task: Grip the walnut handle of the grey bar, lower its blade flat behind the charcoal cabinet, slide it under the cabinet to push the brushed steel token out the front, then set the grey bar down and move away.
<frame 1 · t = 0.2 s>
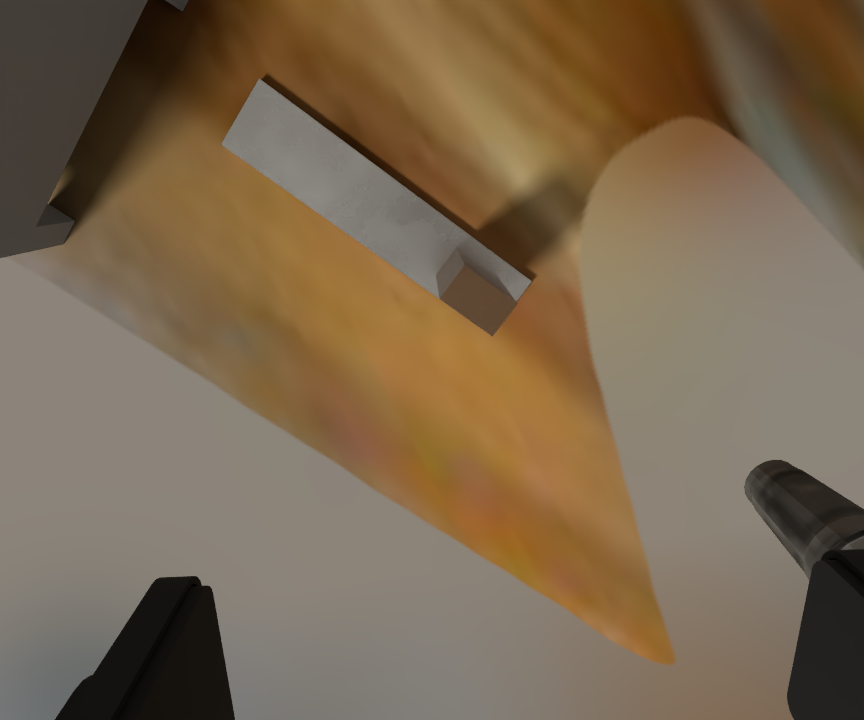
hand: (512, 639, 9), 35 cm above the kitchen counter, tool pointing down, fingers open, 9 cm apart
dark grey bottle: (769, 482, 49), on the kitchen counter
cabinet: (56, 73, 38), on the kitchen counter
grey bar: (467, 275, 43), on the kitchen counter
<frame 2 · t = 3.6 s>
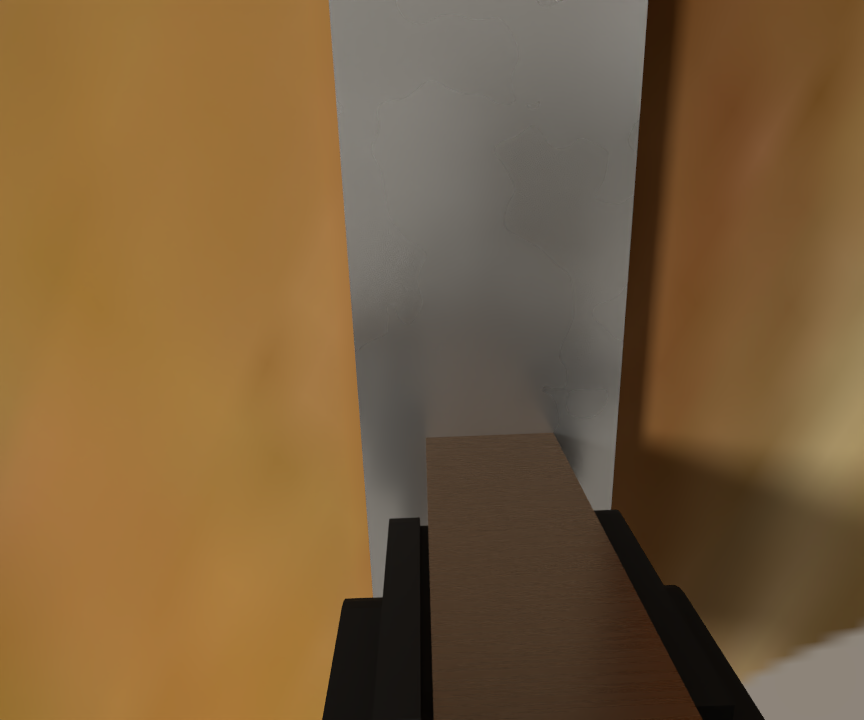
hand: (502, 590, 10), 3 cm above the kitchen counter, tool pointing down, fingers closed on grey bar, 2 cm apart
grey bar: (485, 502, 13), on the kitchen counter, touching gripper
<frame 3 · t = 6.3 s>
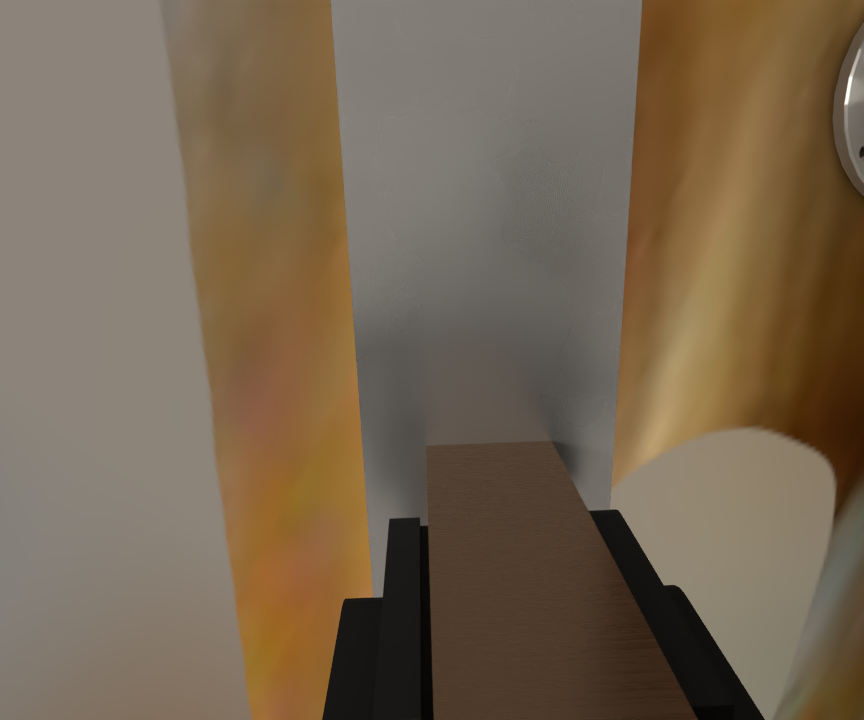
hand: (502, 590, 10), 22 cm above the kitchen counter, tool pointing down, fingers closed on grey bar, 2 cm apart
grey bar: (484, 510, 13), point 20 cm above the kitchen counter, touching gripper
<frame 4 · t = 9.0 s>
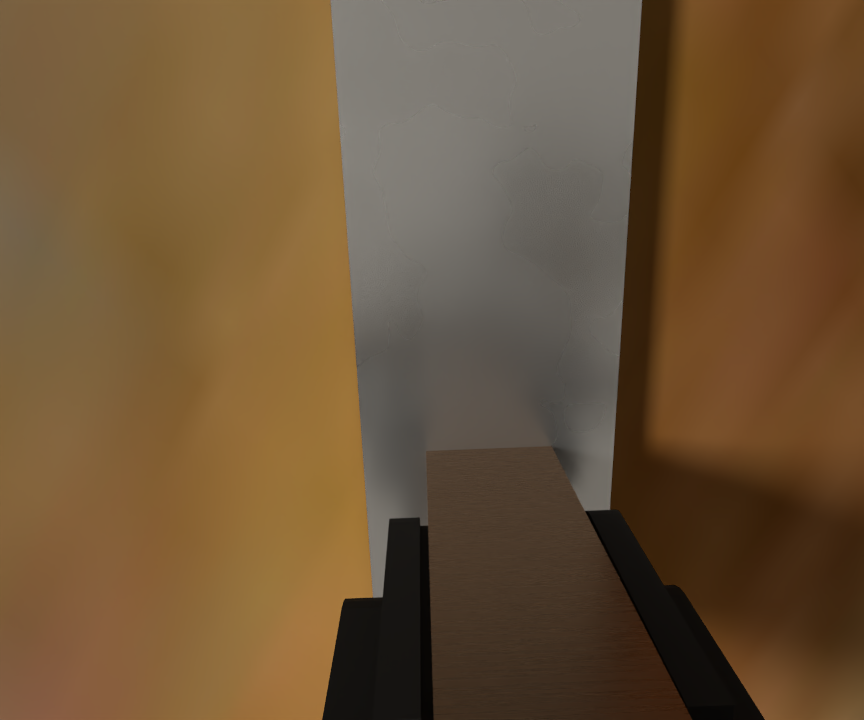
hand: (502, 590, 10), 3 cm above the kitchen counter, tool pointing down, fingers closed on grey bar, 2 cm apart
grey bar: (484, 515, 13), on the kitchen counter, touching gripper
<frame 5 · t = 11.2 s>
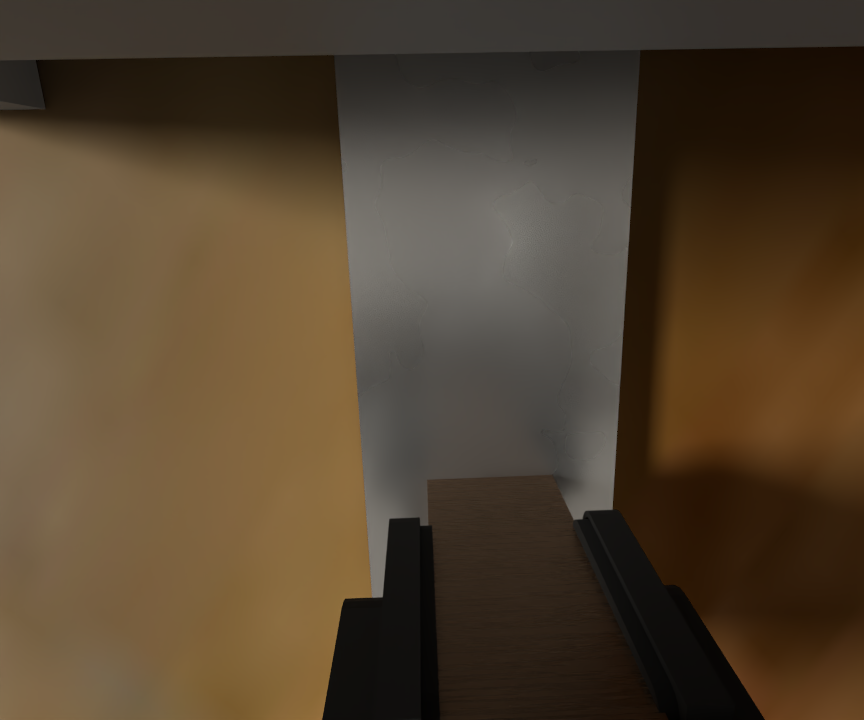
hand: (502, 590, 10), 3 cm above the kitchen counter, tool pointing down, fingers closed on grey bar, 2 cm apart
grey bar: (485, 541, 13), point 1 cm above the kitchen counter, touching gripper
when the fingers open (3 cm above the kitchen counter, at t = 14.7 s): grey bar stays where it is, on the kitchen counter.
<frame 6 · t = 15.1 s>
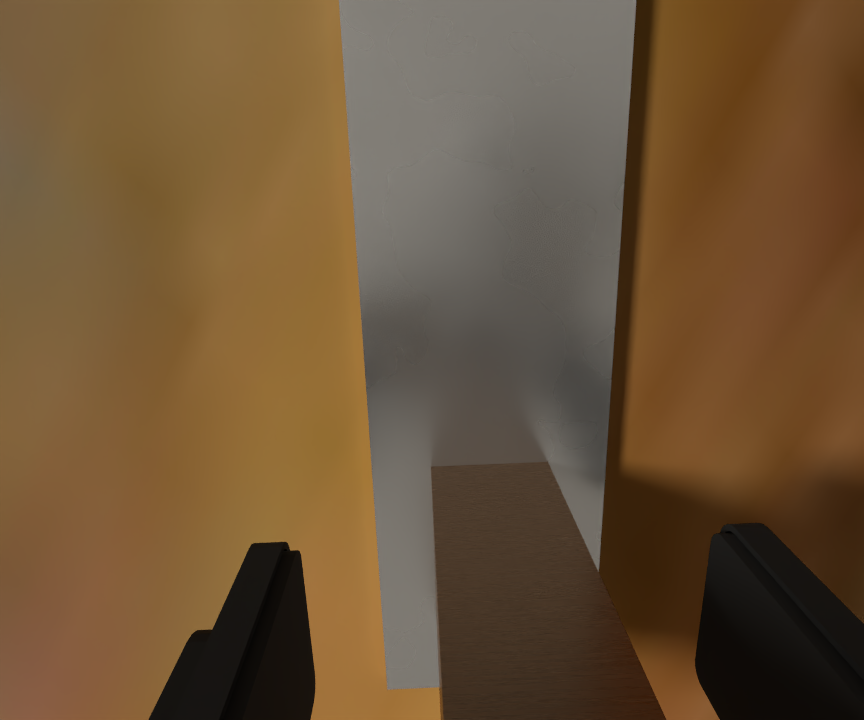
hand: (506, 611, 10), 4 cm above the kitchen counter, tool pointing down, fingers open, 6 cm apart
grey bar: (485, 524, 14), on the kitchen counter
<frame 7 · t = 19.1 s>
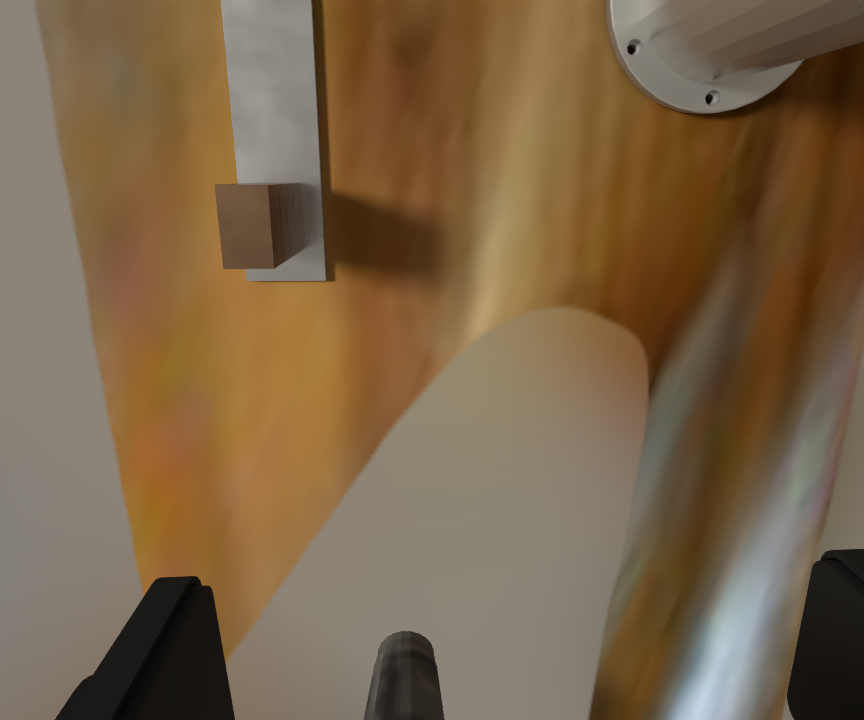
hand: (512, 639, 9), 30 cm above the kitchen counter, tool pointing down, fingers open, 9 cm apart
dark grey bottle: (405, 651, 47), on the kitchen counter
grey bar: (284, 215, 37), on the kitchen counter
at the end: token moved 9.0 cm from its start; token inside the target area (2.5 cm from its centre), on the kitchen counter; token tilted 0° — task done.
